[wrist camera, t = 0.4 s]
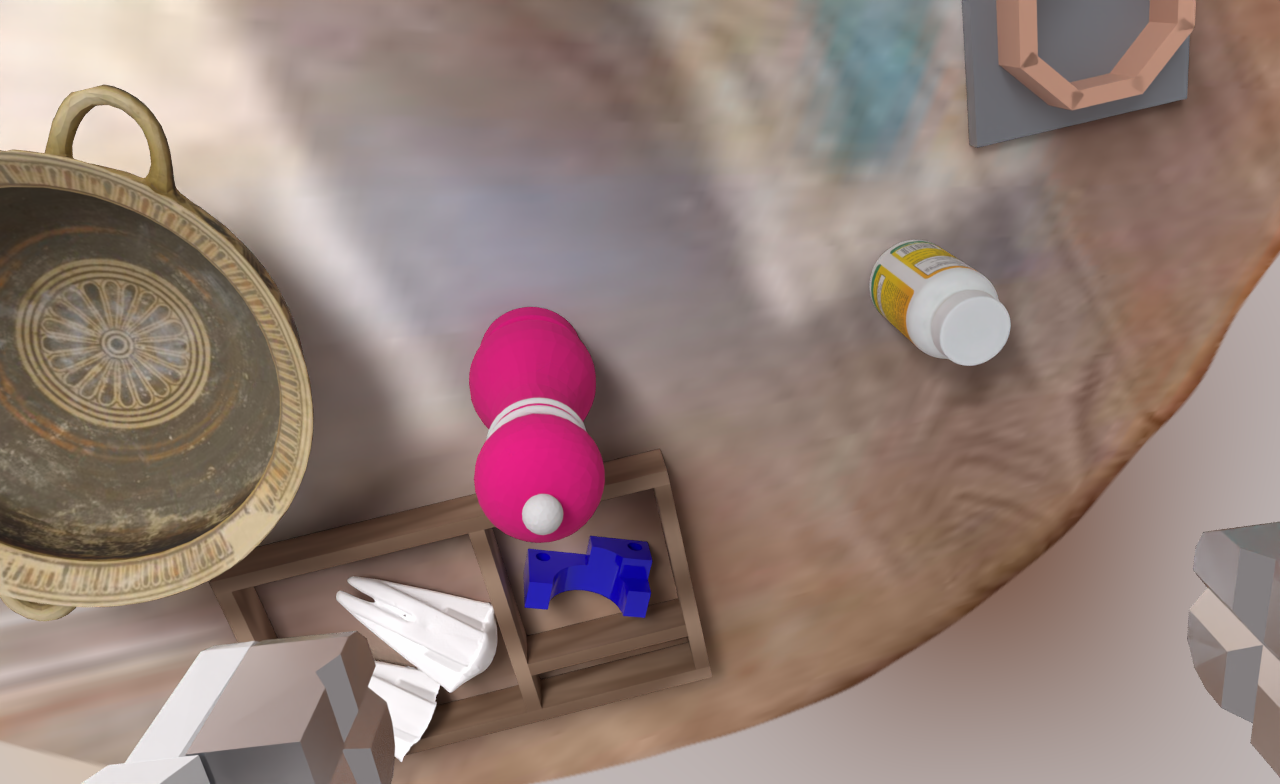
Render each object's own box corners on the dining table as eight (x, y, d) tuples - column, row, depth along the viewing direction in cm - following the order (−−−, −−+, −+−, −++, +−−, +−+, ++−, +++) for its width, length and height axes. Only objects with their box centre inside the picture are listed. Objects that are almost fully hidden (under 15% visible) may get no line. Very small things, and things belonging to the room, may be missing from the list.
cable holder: (647, 540, 65) (655, 573, 61) (637, 582, 66) (644, 617, 62) (531, 528, 63) (533, 562, 59) (523, 571, 64) (524, 607, 61)
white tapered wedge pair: (515, 615, 66) (385, 527, 62) (514, 653, 62) (377, 562, 58) (405, 722, 68) (274, 644, 64) (398, 766, 64) (259, 686, 60)
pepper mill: (611, 331, 58) (659, 491, 40) (554, 426, 60) (576, 618, 42) (505, 277, 56) (506, 420, 38) (450, 377, 58) (426, 558, 40)
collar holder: (956, -95, 51) (987, -101, 48) (1185, -146, 51) (1230, -155, 48) (969, 145, 56) (997, 154, 53) (1176, 96, 57) (1215, 103, 54)
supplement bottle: (909, 220, 58) (982, 262, 49) (964, 273, 60) (1044, 322, 51) (848, 286, 59) (908, 339, 50) (904, 336, 61) (971, 395, 52)
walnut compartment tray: (222, 555, 61) (209, 582, 58) (660, 448, 62) (666, 470, 59) (312, 748, 68) (304, 780, 65) (703, 649, 69) (712, 677, 66)
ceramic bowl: (-76, -14, 46) (-218, -13, 37) (406, 156, 52) (385, 192, 43) (-132, 499, 56) (-255, 599, 47) (279, 591, 62) (240, 695, 53)
